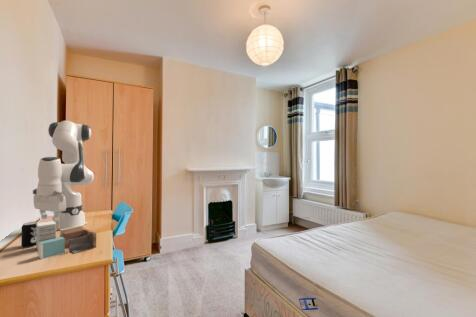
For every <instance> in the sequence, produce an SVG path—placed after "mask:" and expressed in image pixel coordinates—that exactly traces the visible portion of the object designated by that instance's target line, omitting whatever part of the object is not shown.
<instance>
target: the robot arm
mask: <svg viewBox="0 0 476 317" xmlns="http://www.w3.org/2000/svg"><path fill="white" fill-rule="evenodd" d="M47 133H48V134H49V136H50V138H52V139H51V141H52V144H53V146H54V147H55V148H57V150H60V151H62V154H61V158H60V157H57V156H46V157H42V158H40V159H39V162H38V166H37V167H38V168H37V169H38V170H37V178H38V183H37V187H36V188H34V189H33V190H32V194H33V207H34V209H36V210H39V213H40V215H41V216H40V218H41V219H43V220H44V219H47V218H48V214H47V211H48V212H52V213H53V216H52V217H51V218H52V220H51V221H54V222H55V223H56V231H60V229H65V228H70V227H75V226H79V225H80V226H82V227H83V226H85V225H86V224H88V221H86V216H85V211H83V204H82V202H83V201H82V194H81V192H80V191H78V190H74V189H72V187H73V186H74V187H75V186H84V185H89V184H92V183H93V181H94V180H95V174H94V172H93V171H92V170H90V169H89V168H88V167H87V166H86V165H85V158H84V156H85V155H84V147H83V142H84V143H85V141H89V139H91V137H92V129H91V127H90V126H89V125H87V124H85V123H83V124H81V123H75V122H73V121H70V120H62V121H60V122H58V121H57V122H52V123H50V124H49V126H48V128H47ZM61 159H62V160H61ZM61 161H62V162H63V163H62V162H61Z"/></svg>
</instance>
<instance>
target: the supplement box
mask: <svg viewBox="0 0 476 317" xmlns="http://www.w3.org/2000/svg"><path fill="white" fill-rule="evenodd" d="M55 238H57V230H56V222H54V221H53V220H51V221H49V220H48V221H44V222H37V224H36V245H35V247H36V249H37V251H38V243H39V242H42V241H46V240H50V239H55Z"/></svg>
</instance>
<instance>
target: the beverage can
mask: <svg viewBox="0 0 476 317" xmlns="http://www.w3.org/2000/svg"><path fill="white" fill-rule="evenodd" d="M37 223H38V221H29V222H24V223H22V226H21V239H20V240H21V245H20V246H21V247H22V248H24V249H26V248H31V247H36V224H37Z"/></svg>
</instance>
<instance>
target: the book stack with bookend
mask: <svg viewBox="0 0 476 317" xmlns="http://www.w3.org/2000/svg"><path fill="white" fill-rule="evenodd" d="M59 235H60V236H59V237H63V238H65V250H66V249H68V252H69V253H72V254H78V253H81V252H84V251H87V250H91V249H95V248H96V249H97V232H95V231H92V230H89V229H87V228H85V227H83V226H80V225H79V226H75V227H70V228H65V229H60V230H59Z"/></svg>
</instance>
